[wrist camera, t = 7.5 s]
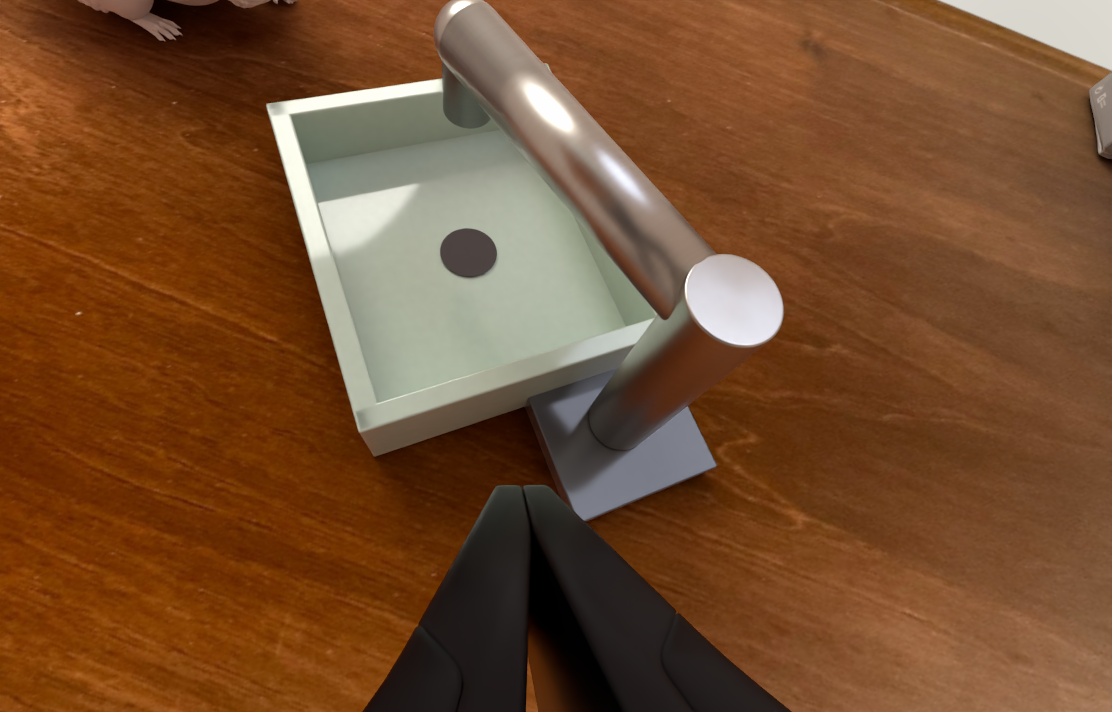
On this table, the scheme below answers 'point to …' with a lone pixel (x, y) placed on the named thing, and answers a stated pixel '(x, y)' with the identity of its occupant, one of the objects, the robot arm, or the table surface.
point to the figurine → (135, 6)
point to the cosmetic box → (1103, 114)
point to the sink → (467, 289)
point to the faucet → (612, 227)
